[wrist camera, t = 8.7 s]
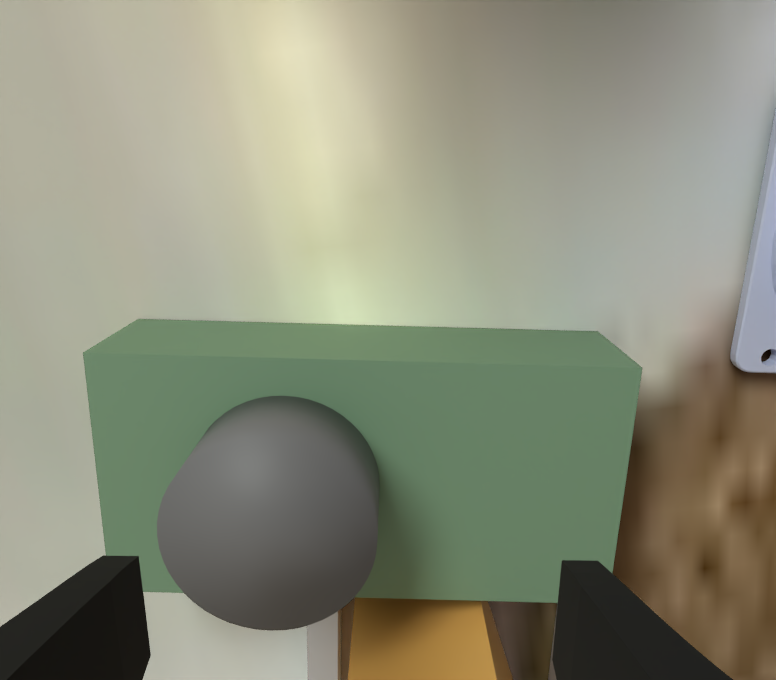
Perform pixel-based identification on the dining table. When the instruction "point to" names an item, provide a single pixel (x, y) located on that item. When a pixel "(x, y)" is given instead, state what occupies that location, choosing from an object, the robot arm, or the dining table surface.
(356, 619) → the orange box with panel
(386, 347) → the green block with prongs
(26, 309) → the dining table surface
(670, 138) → the dining table surface
